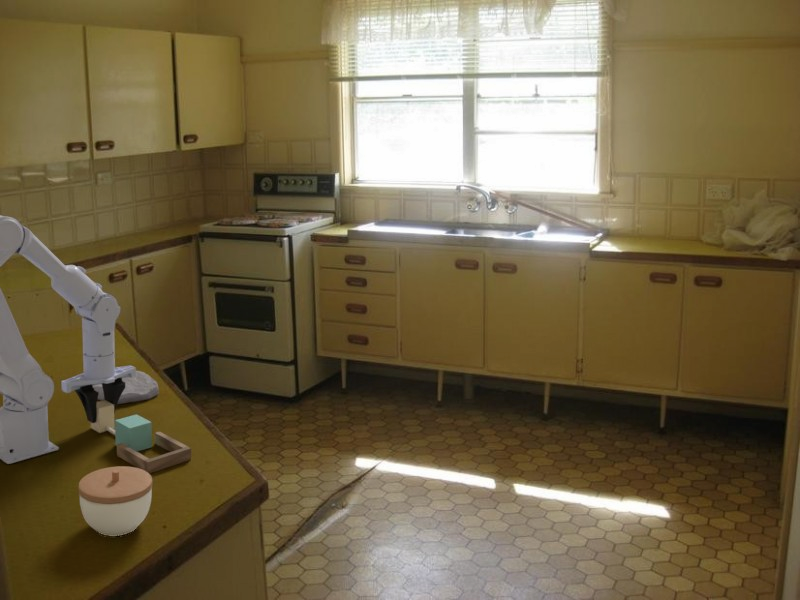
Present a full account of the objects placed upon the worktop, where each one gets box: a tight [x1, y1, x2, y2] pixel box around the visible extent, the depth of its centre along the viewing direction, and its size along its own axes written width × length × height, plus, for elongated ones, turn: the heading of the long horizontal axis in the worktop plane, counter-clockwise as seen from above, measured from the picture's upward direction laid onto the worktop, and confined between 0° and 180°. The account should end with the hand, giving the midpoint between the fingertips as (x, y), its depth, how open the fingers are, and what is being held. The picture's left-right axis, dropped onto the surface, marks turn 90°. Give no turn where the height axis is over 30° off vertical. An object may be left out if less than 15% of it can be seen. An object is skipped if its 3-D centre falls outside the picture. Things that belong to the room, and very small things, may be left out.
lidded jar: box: [77, 465, 153, 536], centre depth 133 cm, size 11×11×9 cm
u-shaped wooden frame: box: [116, 431, 192, 474], centre depth 158 cm, size 10×9×2 cm
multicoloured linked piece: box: [90, 400, 153, 453], centre depth 165 cm, size 15×4×5 cm, turn 48°
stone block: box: [93, 370, 160, 405], centre depth 186 cm, size 12×5×10 cm
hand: (100, 418), depth 169 cm, fingers closed on multicoloured linked piece, 3 cm apart
